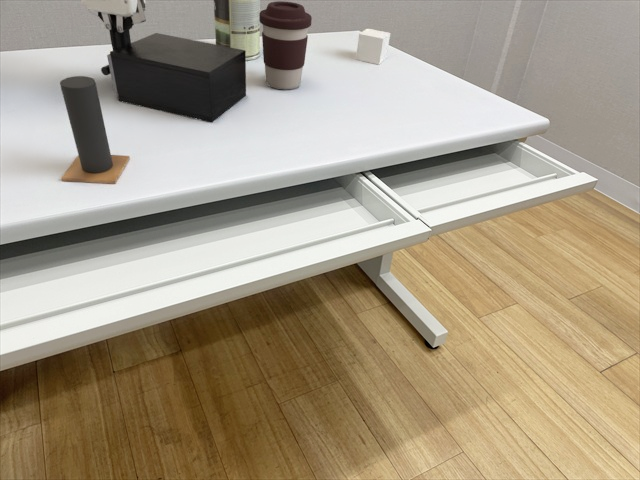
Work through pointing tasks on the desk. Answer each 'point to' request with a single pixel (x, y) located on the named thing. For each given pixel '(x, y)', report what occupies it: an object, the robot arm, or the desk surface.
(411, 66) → the desk surface
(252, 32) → the coffee can
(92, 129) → the canister
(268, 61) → the coffee cup
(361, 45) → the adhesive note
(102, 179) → the pad
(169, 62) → the cabinet
